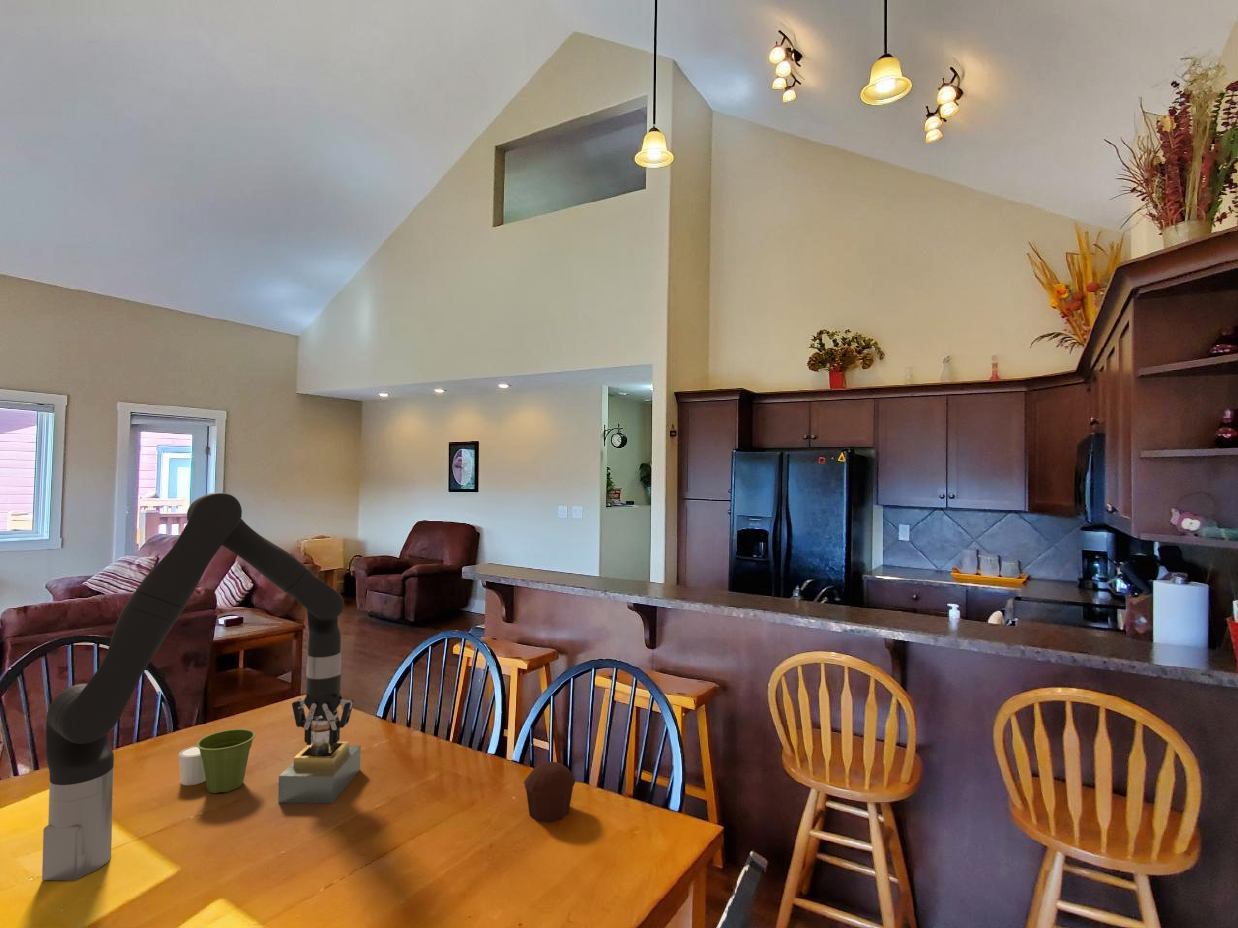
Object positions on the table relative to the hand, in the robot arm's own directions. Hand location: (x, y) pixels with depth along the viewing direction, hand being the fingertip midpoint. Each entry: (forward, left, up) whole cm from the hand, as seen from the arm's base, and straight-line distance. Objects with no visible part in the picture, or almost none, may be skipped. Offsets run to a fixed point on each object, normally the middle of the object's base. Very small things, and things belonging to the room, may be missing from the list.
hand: (322, 743), depth 150 cm
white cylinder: (+2, +31, -10) cm, 33 cm away
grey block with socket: (0, 0, -10) cm, 10 cm away
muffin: (-10, -55, -10) cm, 57 cm away
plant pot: (-1, +22, -10) cm, 24 cm away
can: (0, 0, -2) cm, 2 cm away
